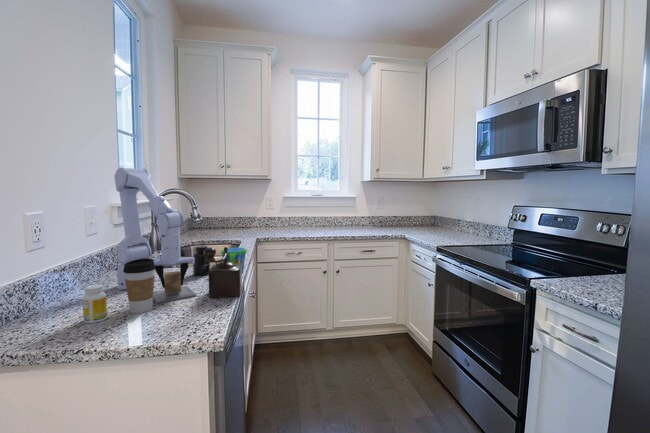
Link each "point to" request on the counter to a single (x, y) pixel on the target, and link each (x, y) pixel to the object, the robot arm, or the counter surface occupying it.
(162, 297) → the coaster
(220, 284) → the manual coffee grinder
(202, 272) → the supplement bottle
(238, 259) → the snack cup
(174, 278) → the block
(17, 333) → the counter surface
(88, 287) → the supplement bottle
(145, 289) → the coffee cup
